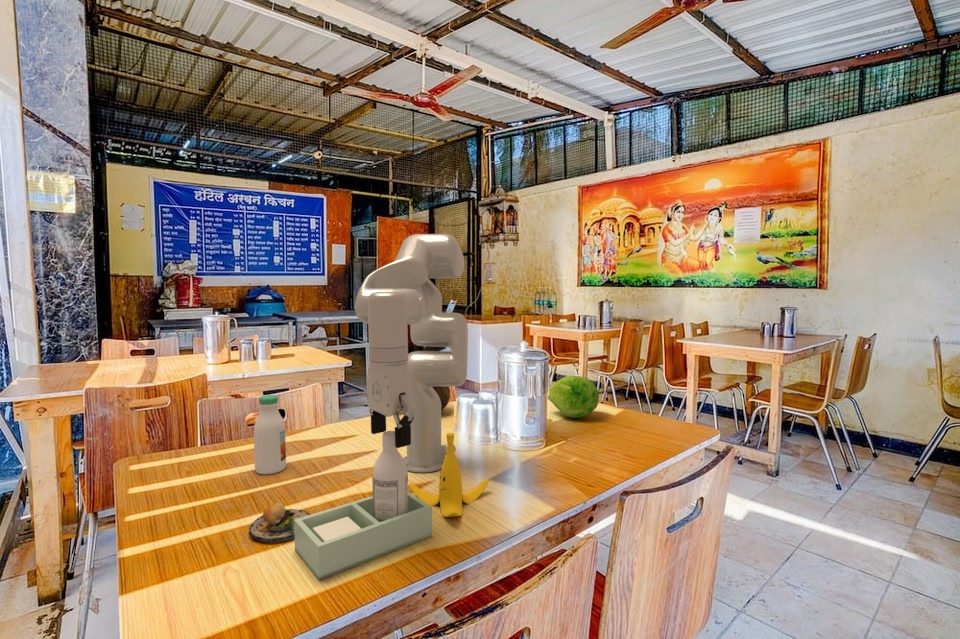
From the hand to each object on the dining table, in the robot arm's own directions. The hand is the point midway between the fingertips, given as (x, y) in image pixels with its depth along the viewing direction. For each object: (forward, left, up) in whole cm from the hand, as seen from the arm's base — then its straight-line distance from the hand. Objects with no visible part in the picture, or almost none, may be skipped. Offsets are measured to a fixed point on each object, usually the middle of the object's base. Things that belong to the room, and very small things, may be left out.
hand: (390, 439), depth 97 cm
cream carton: (+11, +1, -19) cm, 22 cm away
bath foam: (0, 0, -19) cm, 19 cm away
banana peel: (-19, -2, -20) cm, 27 cm away
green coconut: (-94, -31, -20) cm, 101 cm away
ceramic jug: (-54, -69, -20) cm, 90 cm away
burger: (+17, -15, -20) cm, 30 cm away
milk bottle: (+9, -49, -20) cm, 54 cm away
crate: (+6, +1, -19) cm, 20 cm away
